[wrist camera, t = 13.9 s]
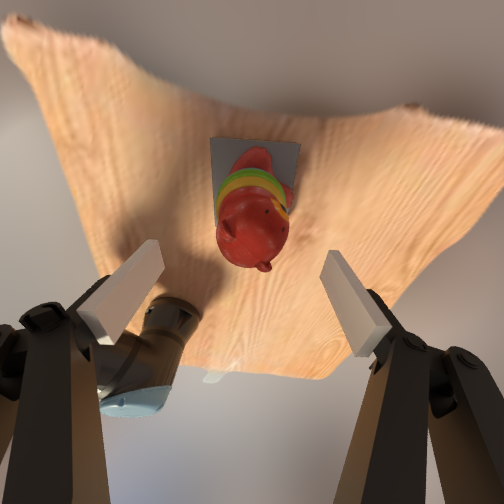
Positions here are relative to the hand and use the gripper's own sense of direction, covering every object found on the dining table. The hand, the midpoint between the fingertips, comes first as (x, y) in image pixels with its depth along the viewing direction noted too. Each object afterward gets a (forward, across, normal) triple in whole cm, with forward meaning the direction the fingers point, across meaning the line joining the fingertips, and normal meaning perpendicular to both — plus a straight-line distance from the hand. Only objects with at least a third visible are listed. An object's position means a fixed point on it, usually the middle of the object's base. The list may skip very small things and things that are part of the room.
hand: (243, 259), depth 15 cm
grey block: (+23, 0, 0) cm, 23 cm away
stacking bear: (+19, +1, 0) cm, 19 cm away
